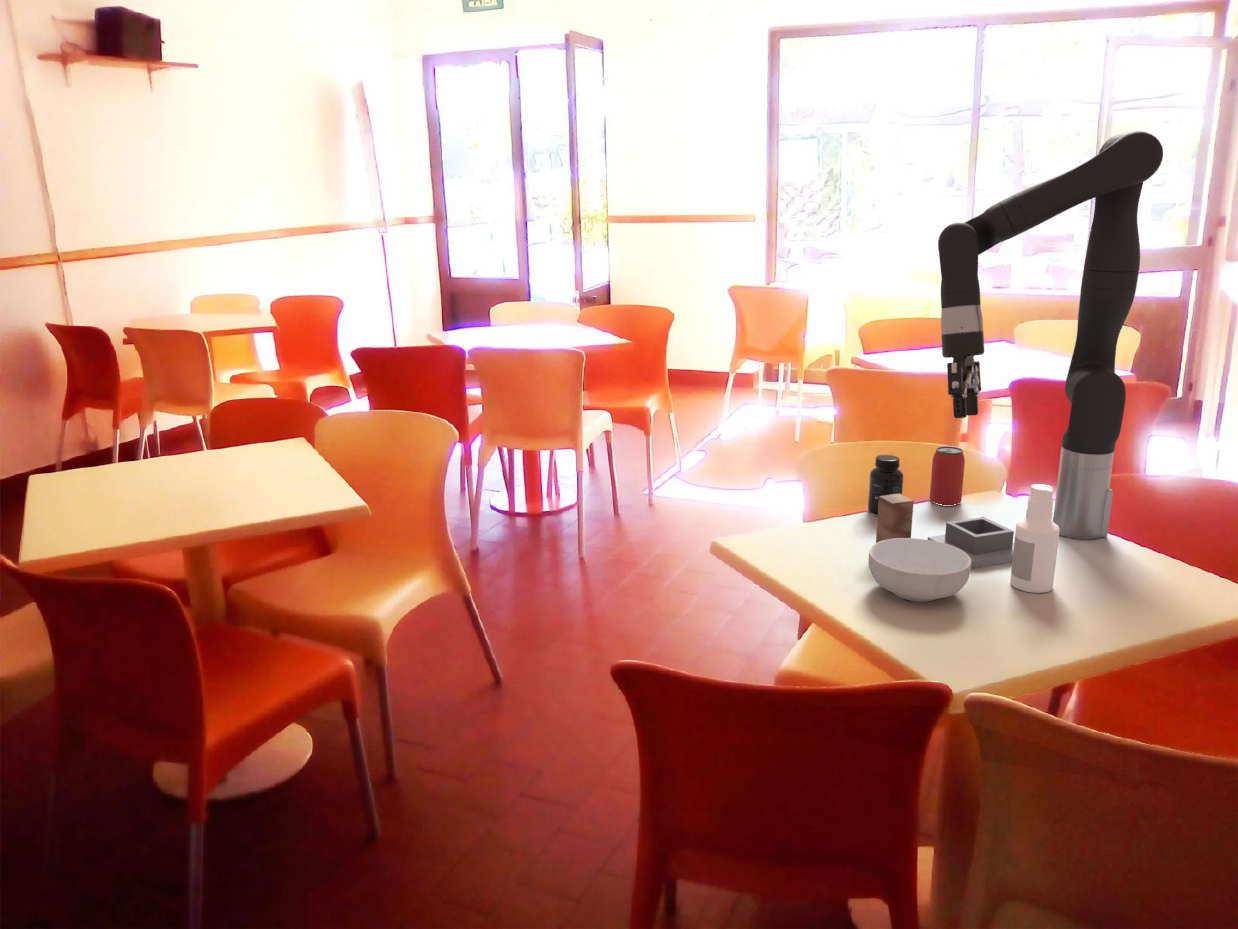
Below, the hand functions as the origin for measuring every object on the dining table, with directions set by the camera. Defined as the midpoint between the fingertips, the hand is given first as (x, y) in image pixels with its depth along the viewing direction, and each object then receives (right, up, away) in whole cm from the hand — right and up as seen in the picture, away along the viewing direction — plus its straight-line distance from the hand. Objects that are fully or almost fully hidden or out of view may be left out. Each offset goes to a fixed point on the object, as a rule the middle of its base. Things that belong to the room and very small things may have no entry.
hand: (966, 416), depth 183 cm
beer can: (+5, -18, +26) cm, 32 cm away
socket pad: (+2, -26, -1) cm, 26 cm away
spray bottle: (+5, -30, -17) cm, 35 cm away
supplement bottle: (-10, -19, +21) cm, 30 cm away
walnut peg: (-15, -26, -1) cm, 30 cm away
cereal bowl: (-15, -31, -18) cm, 39 cm away
